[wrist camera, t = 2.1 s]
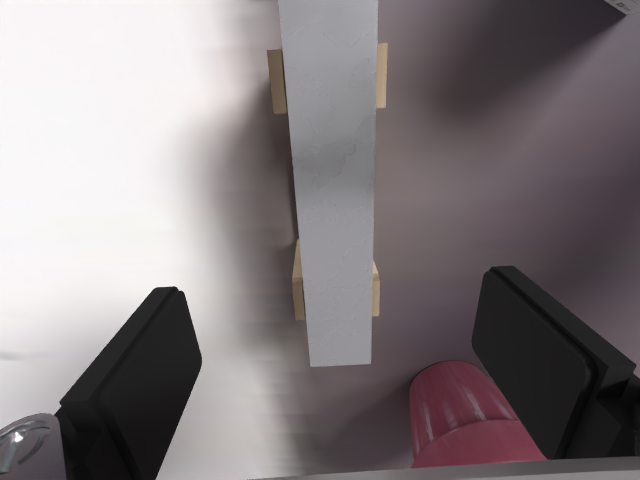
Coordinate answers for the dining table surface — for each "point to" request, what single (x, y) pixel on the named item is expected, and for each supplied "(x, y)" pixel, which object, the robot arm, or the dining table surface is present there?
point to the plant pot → (464, 420)
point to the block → (333, 167)
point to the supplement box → (626, 5)
